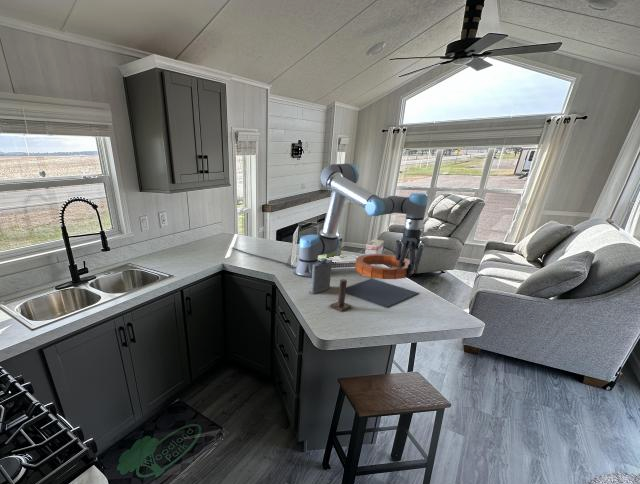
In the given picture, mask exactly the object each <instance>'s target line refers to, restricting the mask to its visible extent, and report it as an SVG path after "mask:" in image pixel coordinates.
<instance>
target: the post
mask: <svg viewBox="0 0 640 484" xmlns="http://www.w3.org/2000/svg"><path fill="white" fill-rule="evenodd" d="M347 284H348V280H347V279H344V278H342V279H340V280H339V288H338V299H337V301H335V302H333V303H330V307H331V308H333V309H335V310H338V311H340V312H343V311H347V310H348V309H351V308H352V304H349V303H346V302H345V300H346V294H347V293H346V288H347Z"/></svg>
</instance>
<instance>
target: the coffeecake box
mask: <svg viewBox="0 0 640 484" xmlns="http://www.w3.org/2000/svg"><path fill="white" fill-rule="evenodd" d="M384 243H385V240H383V239H376V238H375V239H371V240H370V241H369V242H367V243H365V251H364V255H369V254H383V251H384V250H383V249H384ZM381 265H382V264H372V266H377V267H381ZM361 275H362V274H361ZM362 276H363V277H366V276H365V275H362ZM368 277H369V276H367V278H368ZM369 278H370V277H369Z"/></svg>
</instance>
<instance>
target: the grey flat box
mask: <svg viewBox="0 0 640 484" xmlns="http://www.w3.org/2000/svg"><path fill="white" fill-rule="evenodd" d="M332 263H333V262H332V260H327V259H326V258H321V262H318V263H317V264H313V270H312V277H311V286H310V289H311V290H310V294H312V295H313V294H314V295H315V294H319V293H322V292H324V291H326V290H327V291H328V289H330V287H331V275H332V266H333V265H332Z"/></svg>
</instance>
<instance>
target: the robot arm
mask: <svg viewBox="0 0 640 484" xmlns="http://www.w3.org/2000/svg"><path fill="white" fill-rule="evenodd" d="M319 177H320V182H321V184H322V186H323V187H324V188H326V189H327V190H329V191H331V193H330V197H329V201H328V205H327V210H326V213H325V217H324V223H323V227H322V229H320V230H319V231H318V234H306V235H302V236H301V237H300V239H299V244H298V246H299V247H298V249H299V250H298V262H297V264H296V266H292V265H290V264H289V263H286V262H283V261H280V260H277V259H272V258H268V257H265V256H262V255H257V254H253V253H249V252H246V251H243V250H241V249H238V248H235V247H231V249H234V250H235V251H237V252H241V253H243V254H246V255H250V256H253V257H257V258H261V259H265V260H269V261H273V262H275V263H276V262H277V263H280V264H282V265H283V264H284V265H286V266H288V267H290V268H292V269H295V271H294V272H295V275H297V276H299V277H305V278H310V277H311V278H312V270H313V264H317V263H319V262H318V255H323V254H330V253H332V252H335V251H336V250H337V249H338V248H339V246H340V241H339V239H340V238H341V237H339V233H338V229H339V225H340V222H341V217H342V213H343V210H344V206H345V203H346V199H347V200H350V201H352V202H353V203H354V204H356V205H358V206H360V207H362V208H363V209H364V211H365V212H366V215H368V216H370V217H380V216H384V215H390V214H391V215H392V214H403V215H405V220H404V228H403V231H402V237H401V239H397V240H395V243H396V248H395V249H396V250H395V251H396V252H395V256H396V260H398V261H399V266H398V267H402V266H404V265H405V262H403V261H405V260H404V259H405V258H406V256H407V253H408V250H409V260H410V264H408V267H407V273H406V278H410V277H411V275H412V273H411V271H412V272H414V268H415V265H417V264H419V263H420V262H421V261H420V260H421V258H422V253H423V250H424V249H425V247H426V243H423V242H422V241H421V236H422V231H423V230H422V228H423V226H424V220H425V214H426V210H427V206H428V197H429V195H428V194H427V193H423V192H414V193H413V192H412V193H410V194H409V196H400V195H388V196H387V197H380V196H379V195H376V194H375V193H373V192H371V191H370V190H368V189H366V188H364V187H363V186H360V185H358V184H357V183H358V181H359V180H360V179H359V177H360V172H359V170H358V167H357V166H356V165H355V164H354V163H331V164H329V165H326V166H325V167H324V168H322V171H321V173H320V176H319ZM417 247H418V248H417Z"/></svg>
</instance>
